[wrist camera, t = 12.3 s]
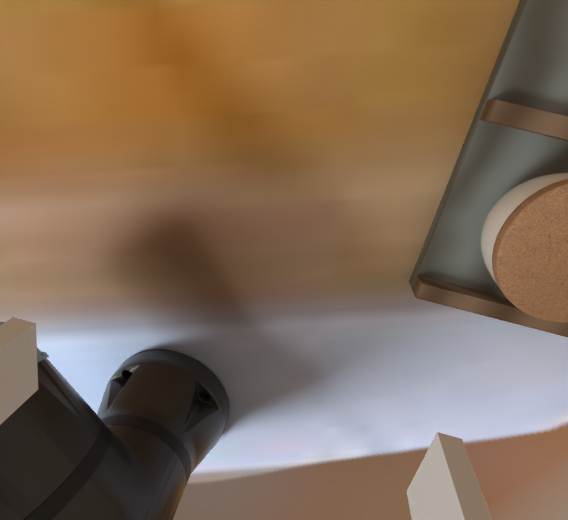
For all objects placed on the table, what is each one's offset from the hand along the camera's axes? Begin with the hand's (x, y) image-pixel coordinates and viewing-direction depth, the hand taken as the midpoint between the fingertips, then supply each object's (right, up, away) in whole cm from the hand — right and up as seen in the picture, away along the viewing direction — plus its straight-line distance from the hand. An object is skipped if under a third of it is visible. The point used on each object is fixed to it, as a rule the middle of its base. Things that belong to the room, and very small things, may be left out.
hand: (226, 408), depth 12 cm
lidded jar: (+23, +8, +21) cm, 32 cm away
